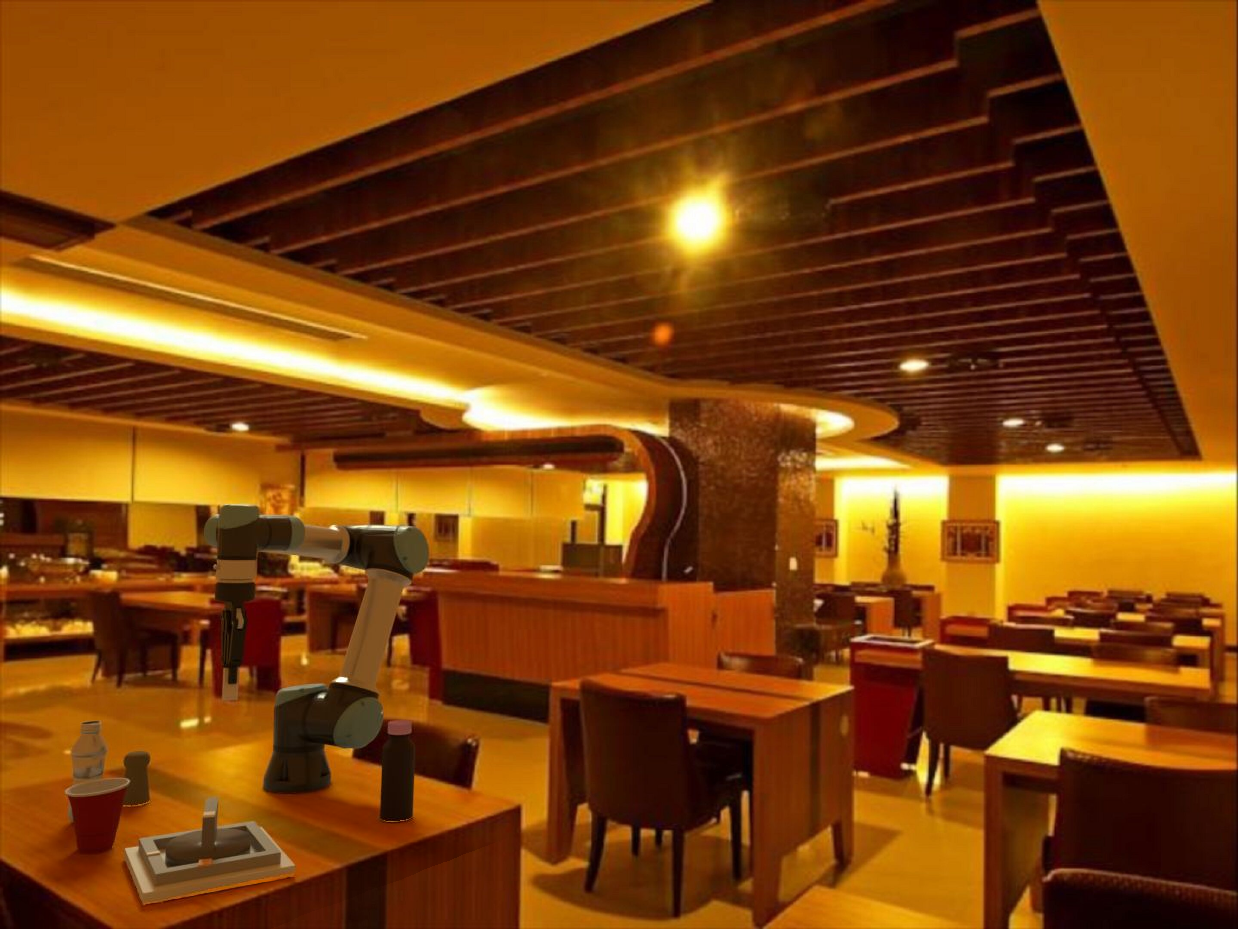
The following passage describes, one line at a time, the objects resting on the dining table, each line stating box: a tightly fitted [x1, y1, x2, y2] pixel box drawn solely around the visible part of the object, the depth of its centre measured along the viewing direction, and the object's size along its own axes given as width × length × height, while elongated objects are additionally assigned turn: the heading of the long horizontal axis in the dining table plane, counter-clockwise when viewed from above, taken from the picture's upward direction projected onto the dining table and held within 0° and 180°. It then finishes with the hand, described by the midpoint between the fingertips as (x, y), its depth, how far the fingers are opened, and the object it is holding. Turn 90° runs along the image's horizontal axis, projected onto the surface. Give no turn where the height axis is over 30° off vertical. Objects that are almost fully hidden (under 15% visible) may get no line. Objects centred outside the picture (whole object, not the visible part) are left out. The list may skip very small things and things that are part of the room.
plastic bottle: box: [67, 720, 108, 823], centre depth 190 cm, size 6×7×20 cm
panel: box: [123, 820, 296, 903], centre depth 166 cm, size 24×24×4 cm
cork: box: [123, 750, 151, 806], centre depth 203 cm, size 6×6×11 cm
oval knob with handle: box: [165, 797, 251, 867], centre depth 167 cm, size 14×14×9 cm
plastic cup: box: [64, 777, 130, 855], centre depth 175 cm, size 11×11×12 cm
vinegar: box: [379, 719, 416, 822], centre depth 197 cm, size 7×7×20 cm
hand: (229, 699), depth 185 cm, fingers closed
